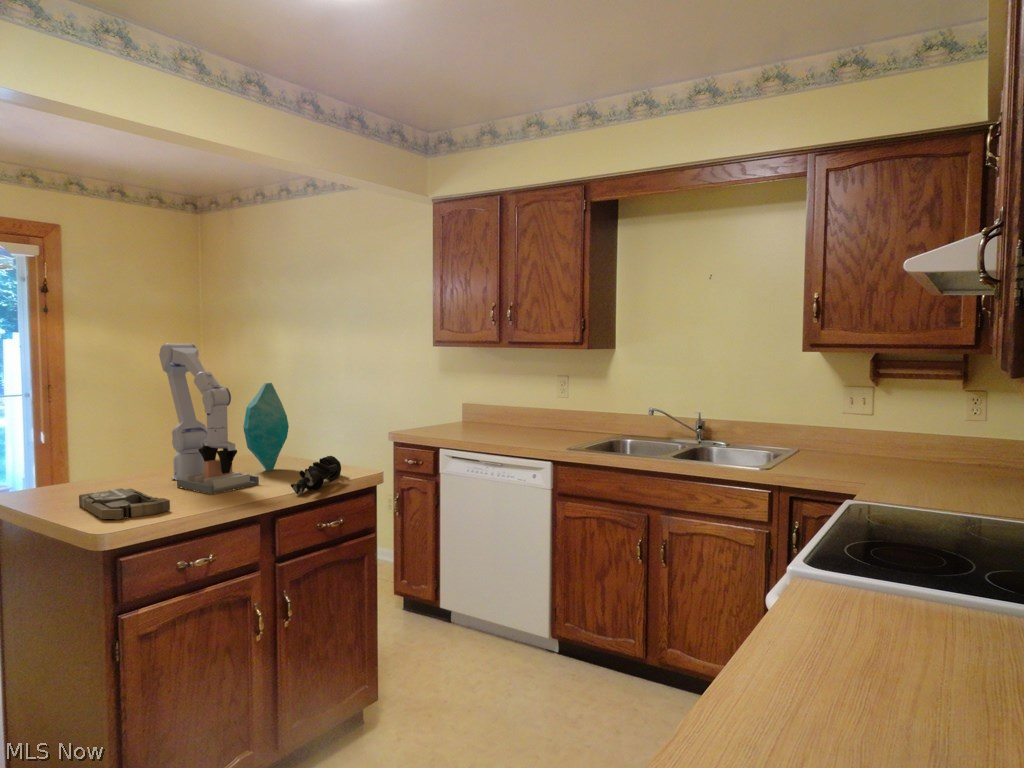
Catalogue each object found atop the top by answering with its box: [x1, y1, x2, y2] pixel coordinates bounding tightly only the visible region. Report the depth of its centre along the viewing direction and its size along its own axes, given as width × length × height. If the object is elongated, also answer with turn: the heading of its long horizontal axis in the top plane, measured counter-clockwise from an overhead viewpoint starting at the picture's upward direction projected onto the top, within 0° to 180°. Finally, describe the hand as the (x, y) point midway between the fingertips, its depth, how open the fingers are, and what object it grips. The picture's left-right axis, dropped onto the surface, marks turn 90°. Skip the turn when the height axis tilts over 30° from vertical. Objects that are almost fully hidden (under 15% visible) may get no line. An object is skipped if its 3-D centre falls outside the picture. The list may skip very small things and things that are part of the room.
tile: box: [203, 458, 233, 479], centre depth 198 cm, size 2×8×7 cm, turn 148°
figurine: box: [289, 455, 342, 495], centre depth 202 cm, size 8×30×8 cm, turn 174°
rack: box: [176, 471, 260, 495], centre depth 199 cm, size 17×16×4 cm
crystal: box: [242, 382, 289, 472], centre depth 222 cm, size 12×14×30 cm
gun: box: [78, 487, 171, 521], centre depth 171 cm, size 4×24×15 cm
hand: (218, 471), depth 198 cm, fingers open, 7 cm apart
